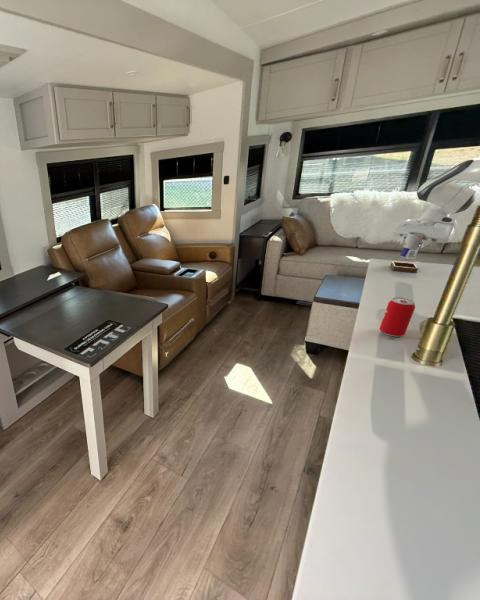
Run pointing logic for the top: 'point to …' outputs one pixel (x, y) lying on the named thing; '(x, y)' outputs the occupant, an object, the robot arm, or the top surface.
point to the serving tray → (404, 267)
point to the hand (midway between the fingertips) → (411, 245)
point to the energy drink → (411, 245)
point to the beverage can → (397, 316)
